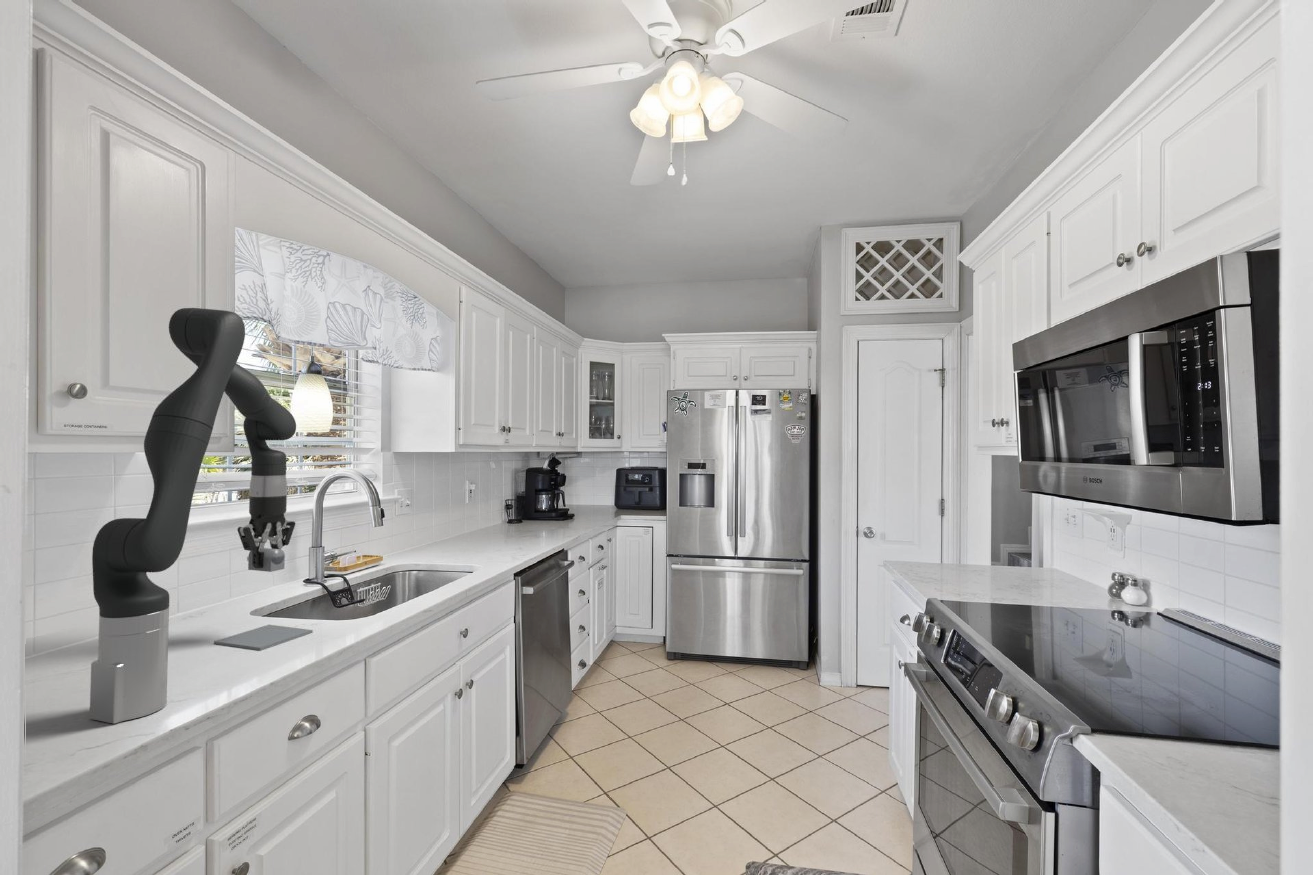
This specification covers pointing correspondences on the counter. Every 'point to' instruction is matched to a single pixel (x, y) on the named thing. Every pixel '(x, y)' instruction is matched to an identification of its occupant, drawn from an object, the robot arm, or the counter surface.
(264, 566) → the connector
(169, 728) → the counter surface
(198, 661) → the counter surface
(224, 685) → the counter surface
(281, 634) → the slate mat
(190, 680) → the counter surface
